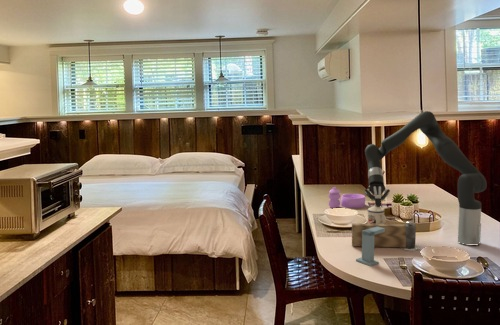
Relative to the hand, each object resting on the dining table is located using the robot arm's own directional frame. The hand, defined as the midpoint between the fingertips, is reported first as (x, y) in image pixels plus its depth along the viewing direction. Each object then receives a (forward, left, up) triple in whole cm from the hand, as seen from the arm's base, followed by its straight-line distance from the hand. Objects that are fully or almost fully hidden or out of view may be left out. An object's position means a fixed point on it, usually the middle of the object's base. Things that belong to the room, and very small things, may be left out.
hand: (378, 206), depth 221 cm
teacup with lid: (+6, -18, -16) cm, 25 cm away
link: (-7, +15, -15) cm, 22 cm away
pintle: (-18, +10, -15) cm, 26 cm away
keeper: (-9, +35, -15) cm, 39 cm away
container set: (+38, -55, -16) cm, 69 cm away
